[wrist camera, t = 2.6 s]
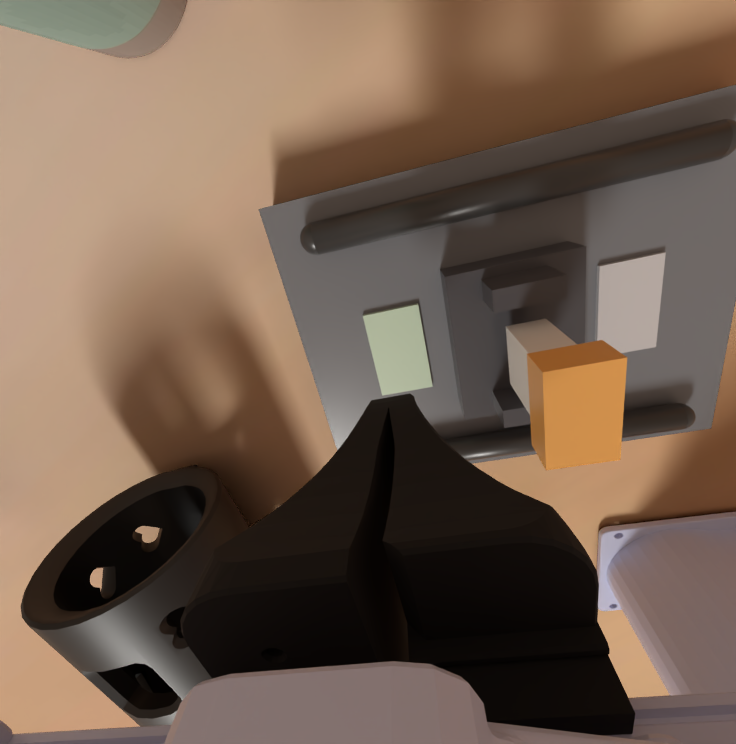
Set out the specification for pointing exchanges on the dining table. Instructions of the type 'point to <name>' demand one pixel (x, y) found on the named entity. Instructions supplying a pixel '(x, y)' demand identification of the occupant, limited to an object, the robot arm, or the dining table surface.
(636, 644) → the dining table surface
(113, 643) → the muzzle brake
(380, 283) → the breaker panel
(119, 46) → the coffee cup
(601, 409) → the breaker lever
